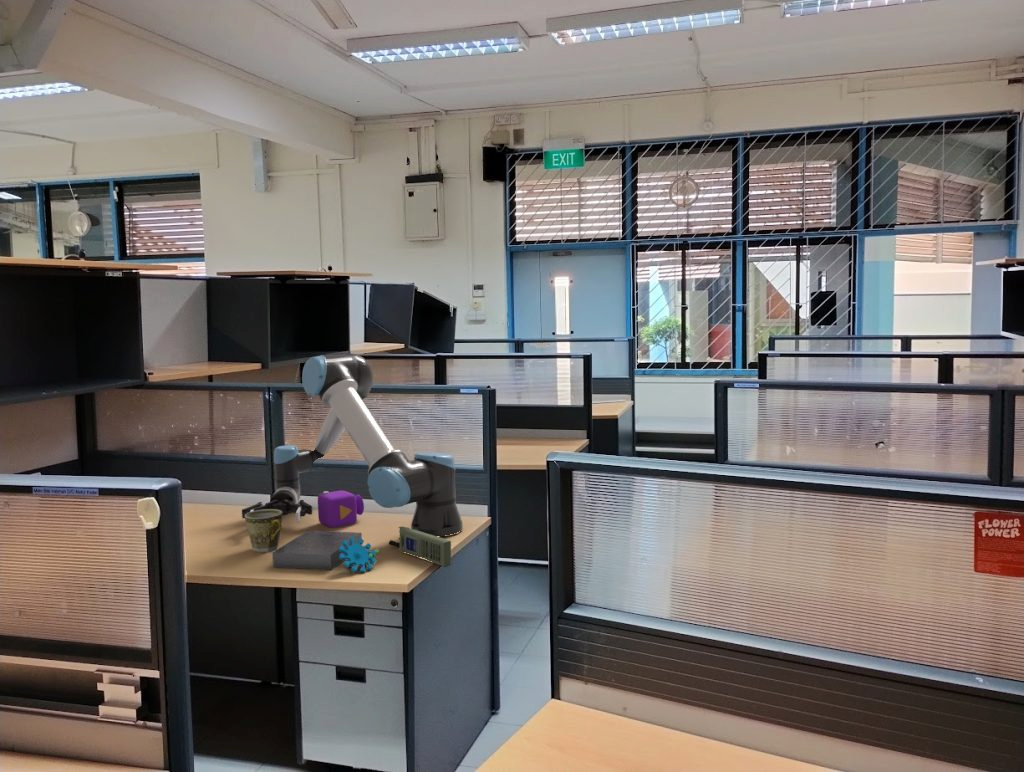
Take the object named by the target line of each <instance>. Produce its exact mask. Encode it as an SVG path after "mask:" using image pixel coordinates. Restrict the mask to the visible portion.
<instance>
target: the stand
mask: <svg viewBox="0 0 1024 772" xmlns="http://www.w3.org/2000/svg"><path fill="white" fill-rule="evenodd" d="M351 537H353V538H355V539H356V540H355V541H354V544H355V545H356V544H358V540H359V539H360V538H361V539H362V537H363V535H362V532H355V531H354V532H352V531H348V532H347V531H329V530H327V531H326V530H307V531H305V532H303V533H302V534H300V535H299V536H297V537H295V538H293V539H292V540H290V541H289V542H287V543H285V544H284V545H281V547H279V548H277V549H276V550H273V551H271V552H272V568H273V567H278V568H277V569H293V568H295V570H296V569H298V570H312V571H313V570H316V571H332V570H334V569H335V568H337V567H338V566H339V565H340V564H342V563H344V562H345V561H346V560H345V559H342V560H341V559H339V555H340V554H341V553H343V552H340V551H339V550H338V549H339V548H340V546H344V545H343V544H342V542H343V541H344V540H348V545H349V546H351V543H350V541H349V540H350V538H351ZM360 545H361V546H363V544H360ZM344 549H345V550H347V549H346V547H345V546H344ZM343 554H344V555H345V556H347V555H346V554H345V553H343ZM341 562H342V563H341ZM337 565H338V566H337ZM334 567H335V568H334ZM333 568H334V569H333Z"/></svg>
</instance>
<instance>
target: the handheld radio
mask: <svg viewBox="0 0 1024 772" xmlns="http://www.w3.org/2000/svg"><path fill="white" fill-rule="evenodd" d="M398 529H399V531H398V532H399V538H398V541H399V542H397V541H395V540H389V541H388V545H390V546H392V547H395V548H399V550H400V551H402V552H406V553H409V554H412V555H415V556H418V557H422V558H425V559H427V560H429V561H432V562H433V564H434V563H435V564H434V565H438V566H441V567H443V568H447V567H451V566H452V540H450V539H446V538H444V537H437V536H433V535H430V534H427V533H424V532H420V531H417V530H414V529H411V527H405V526H398ZM400 551H399V552H400ZM402 552H401V553H402ZM429 561H428V562H429ZM432 562H431V563H432Z"/></svg>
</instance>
